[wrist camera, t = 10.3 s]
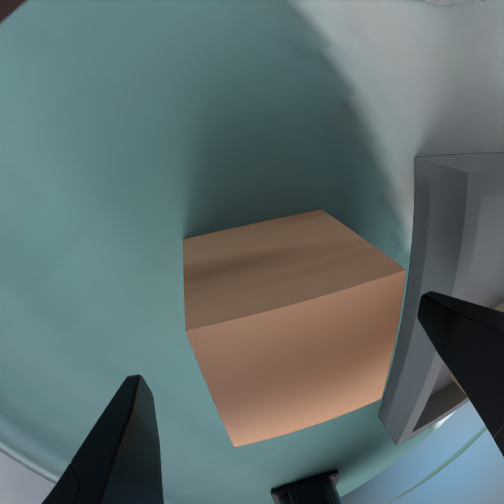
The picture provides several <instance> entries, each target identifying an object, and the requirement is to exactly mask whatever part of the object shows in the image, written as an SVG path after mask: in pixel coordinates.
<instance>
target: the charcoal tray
mask: <svg viewBox="0 0 504 504" xmlns="http://www.w3.org/2000/svg"><path fill="white" fill-rule="evenodd" d="M414 163H415V193H414V220H413V236H412V249H411V259H410V268H409V277H408V285H407V292H406V299H405V305H404V311H403V317H402V323H401V328H400V333H399V338H398V343H397V348H396V352H395V357H394V361H393V365H392V369H391V374H390V377H389V381H388V385H387V389H386V392H385V396H384V399H383V403H382V406H381V410H380V413H379V416H378V417H379V419H380V420H381V422H382V423H383V425H384V426H385V428H386V430H387V431H388V433H389V434H390V436H391V438H392V439H393V441H394V442H395V444H396V445H398V444H400V443H402V442H404V441H406V440H408V439H410V438H411V437H413V436H415V435H417V434H419V433H420V432H422V431H424V430H425V429H427V428H429V427H430V426H432V425H434V424H435V423H437V422H438V421H440V420H442V419H443V418H445V417H446V416H448V415H449V414H451V413H452V412H454V411H455V410H457V409H458V408H459V407H461V406H462V405H464V404H465V403H467V402H468V401H469V398H468V397H467V395H466V394H465V393H464V392H463V391H462V389H461V388H460V387H459V386H458V385H457V384H456V383H455V382H454V380H453V379H452V378H451V377H450V376H449V375H450V373H451V371H450V370H449V368H448V367H447V366H446V364H445V363H444V361H443V360H442V359H441V357H440V356H439V354H438V353H437V351H436V349H435V348H434V346H433V344H432V342H431V341H430V339H429V337H428V336H427V334H426V332H425V331H424V329H423V327H422V326H421V324H420V322H419V320H418V317H417V312H418V307H419V302H420V297H421V295H422V294H424V293H427V292H429V291H434V292H437V293H441V294H444V295H448V296H451V297H454V298H458V299H461V300H464V301H468V302H471V303H474V304H478V305H481V306H484V307H488V308H491V309H494V308H496V307H497V306H499V305H500V304H502V303H503V302H504V152H497V153H470V154H452V155H437V156H424V157H414Z"/></svg>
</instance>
